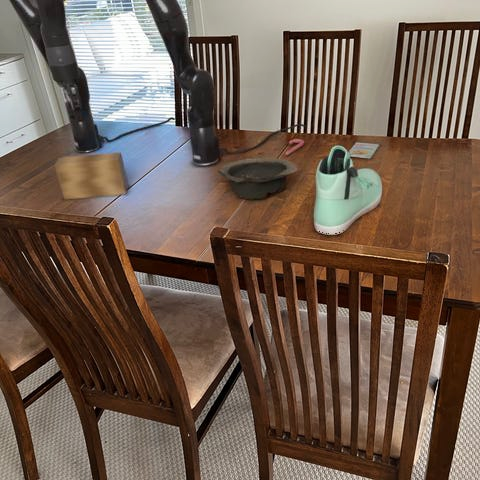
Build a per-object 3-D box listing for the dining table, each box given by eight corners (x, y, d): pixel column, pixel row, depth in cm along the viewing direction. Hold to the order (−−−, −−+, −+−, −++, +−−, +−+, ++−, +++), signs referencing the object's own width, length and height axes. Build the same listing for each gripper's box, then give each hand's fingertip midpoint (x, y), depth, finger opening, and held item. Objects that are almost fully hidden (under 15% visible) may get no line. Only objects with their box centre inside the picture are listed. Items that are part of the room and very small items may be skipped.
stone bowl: (243, 213, 140) (240, 183, 136) (209, 189, 160) (205, 162, 156) (313, 190, 149) (312, 161, 144) (272, 170, 169) (270, 144, 165)
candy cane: (273, 154, 179) (273, 150, 178) (293, 141, 189) (293, 137, 188) (287, 156, 176) (287, 152, 175) (307, 143, 186) (307, 139, 185)
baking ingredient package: (345, 155, 171) (356, 141, 183) (345, 156, 172) (356, 142, 183) (370, 157, 168) (379, 143, 179) (370, 158, 168) (379, 145, 180)
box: (64, 199, 158) (54, 164, 151) (69, 191, 163) (59, 157, 157) (125, 194, 158) (118, 159, 152) (128, 186, 163) (121, 152, 157)
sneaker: (389, 187, 148) (396, 123, 138) (356, 242, 123) (361, 168, 112) (346, 181, 154) (350, 119, 144) (306, 232, 129) (307, 161, 118)
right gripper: (81, 63, 131) (95, 121, 139) (71, 56, 142) (85, 110, 150) (52, 68, 128) (69, 127, 137) (45, 60, 139) (60, 115, 148)
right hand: (77, 118), depth 143 cm, fingers open, 8 cm apart
